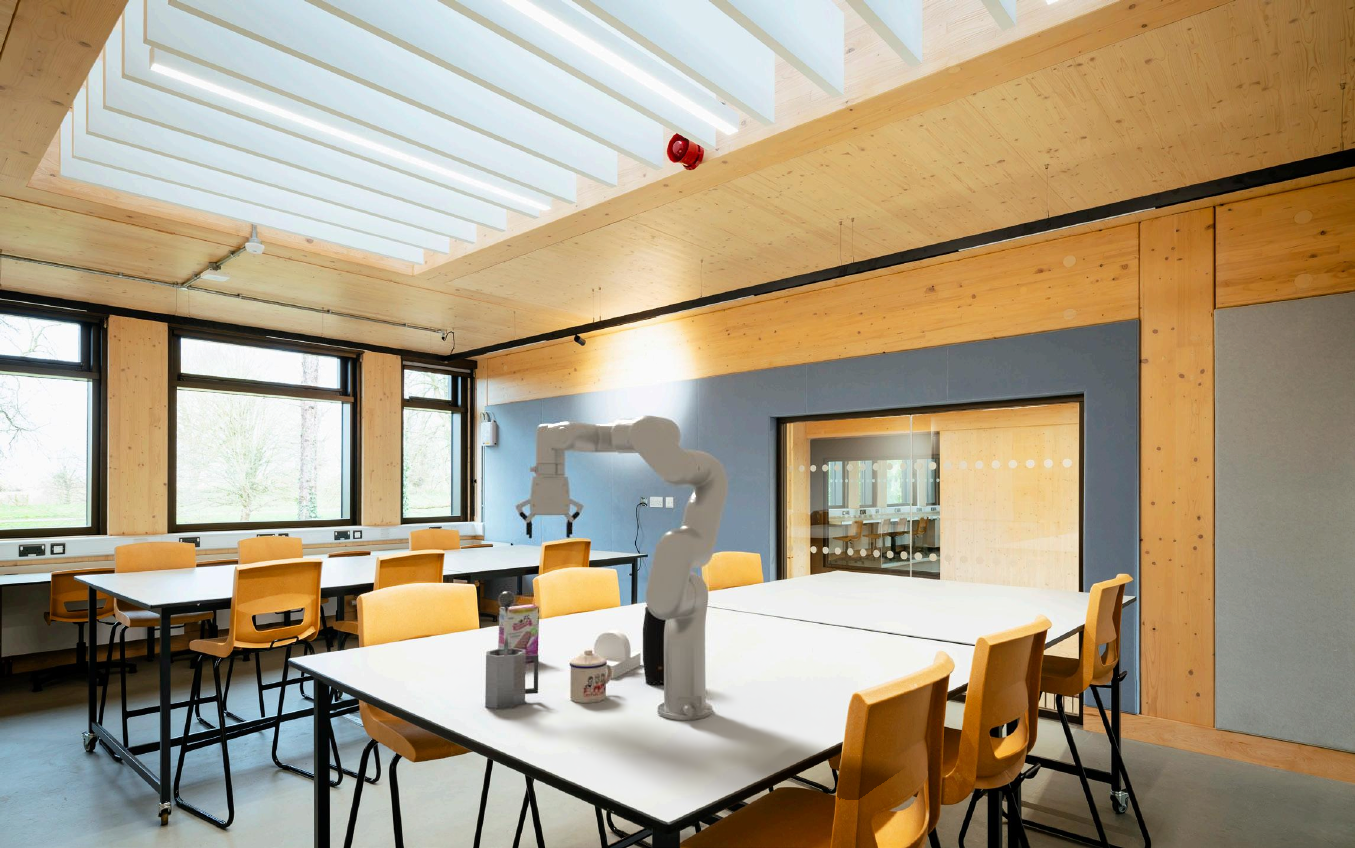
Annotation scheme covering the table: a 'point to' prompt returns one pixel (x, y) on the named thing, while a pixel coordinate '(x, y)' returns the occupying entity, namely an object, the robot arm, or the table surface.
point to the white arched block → (616, 652)
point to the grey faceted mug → (508, 678)
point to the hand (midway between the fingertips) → (549, 537)
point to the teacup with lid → (589, 678)
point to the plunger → (506, 614)
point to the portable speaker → (653, 648)
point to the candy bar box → (521, 628)
